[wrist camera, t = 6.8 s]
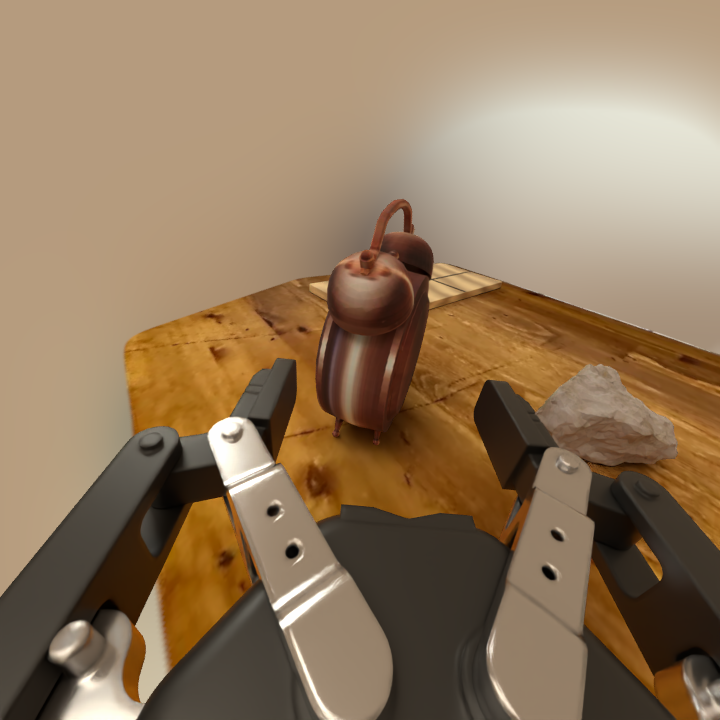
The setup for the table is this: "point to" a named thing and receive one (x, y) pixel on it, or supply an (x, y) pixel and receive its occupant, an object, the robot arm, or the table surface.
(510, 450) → the robot arm
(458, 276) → the board
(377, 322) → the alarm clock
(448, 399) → the table surface
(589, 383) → the stone
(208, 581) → the table surface
